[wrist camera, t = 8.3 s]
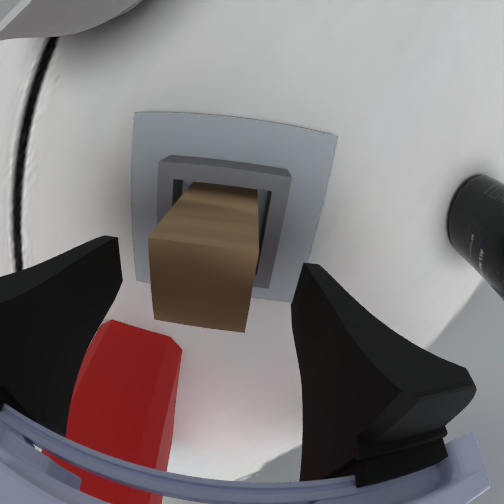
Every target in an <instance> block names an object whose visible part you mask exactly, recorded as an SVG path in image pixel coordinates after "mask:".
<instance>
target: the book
mask: <svg viewBox="0 0 504 504" xmlns="http://www.w3.org/2000/svg"><path fill="white" fill-rule="evenodd" d="M181 354H182V349H181V348H180V347H179V346H178V345H177V344H176V343H175V341H174V340H173V339H172V338H171V337H169V336H166V335H162V334H158V333H155V332H151V331H148V330H144V329H141V328H138V327H134V326H131V325H128V324H125V323H121V322H118V321H115V320H110V321H108V322H106V323H104V324H103V325H101V326H100V328H99V329H98V331H97V333H96V335H95V336H94V338H93V340H92V342H91V344H90V346H89V347H88V349H87V351H86V353H85V356H84V359H83V361H82V364H81V367H80V370H79V373H78V376H77V380H76V383H75V387H74V391H73V395H72V399H71V404H70V409H69V415H68V422H67V430H66V436H65V438H67V439H69V440H71V441H73V442H76V443H78V444H80V445H83V446H85V447H88V448H90V449H93V450H95V451H98V452H100V453H103V454H106V455H109V456H112V457H115V458H118V459H121V460H124V461H127V462H130V463H134V464H137V465H141V466H145V467H148V468H152V469H157V470H161V471H165V472H167V466H168V460H169V454H170V449H171V443H172V435H173V424H174V413H175V403H176V394H177V385H178V377H179V369H180V361H181ZM41 453H42V454H44V455H46V456H47V457H49V458H51V459H52V460H53V461H54V462H56V463H57V464H58V465H60V466H61V467H63V468H64V469H66V470H68V471H69V472H71V473H73V474H75V475H77V476H78V477H80V478H81V480H82V481H81V484H80V491H81V492H83V493H86V494H88V495H90V496H93V497H95V498H98V499H100V500H103V501H105V502H108V503H111V504H162V497H163V496H162V495H158V494H154V493H150V492H146V491H142V490H139V489H135V488H132V487H129V486H125V485H122V484H119V483H116V482H113V481H110V480H108V479H105V478H102V477H100V476H97V475H95V474H92V473H90V472H87V471H85V470H83V469H80V468H78V467H76V466H74V465H71V464H69V463H67V462H65V461H63V460H61V459H59V458H57V457H55V456H53V455H52V454H50V453H48V452H46V451H44V450H42V452H41Z"/></svg>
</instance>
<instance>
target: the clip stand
mask: <svg viewBox="0 0 504 504" xmlns="http://www.w3.org/2000/svg"><path fill="white" fill-rule="evenodd" d="M337 139H338V136H336V135H332V134H328V133H324V132H319V131H315V130H310V129H306V128H301V127H296V126H291V125H285V124H280V123H274V122H268V121H261V120H254V119H247V118H239V117H230V116H221V115H210V114H196V113H176V112H135V114H134V126H133V141H132V167H131V204H132V231H133V247H134V260H135V270H136V280H137V281H141V282H147V283H151V281H150V268H149V251H148V237H149V235H150V234H151V233H152V232H153V230H154V229H155V228H156V226H157V225H158V224H159V223H160V221H161V220H162V219H163V218H164V216H165V215H166V214H167V213H168V211H169V210H170V209H171V208H172V206H173V205H174V204H175V203H176V202H177V200H178V199H179V198H180V197H181V196H182V194H183V193H184V192H185V191H186V190H187V188H188V187H189V186H190V185H191V184H192V183H193V182H203V183H212V184H221V185H229V186H237V187H245V188H252V189H257V192H258V231H259V255H258V261H257V266H256V272H255V277H254V283H253V289H252V294H251V298H258V299H266V300H275V301H285V302H292V300H293V297H294V293H295V290H296V287H297V283H298V280H299V276H300V273H301V269H302V265H303V263H307V262H308V258H309V255H310V251H311V247H312V244H313V240H314V236H315V232H316V229H317V225H318V221H319V217H320V213H321V209H322V205H323V201H324V197H325V193H326V189H327V185H328V180H329V176H330V172H331V167H332V163H333V158H334V153H335V149H336V144H337Z"/></svg>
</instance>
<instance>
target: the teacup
mask: <svg viewBox="0 0 504 504" xmlns="http://www.w3.org/2000/svg"><path fill="white" fill-rule="evenodd" d="M142 1H143V0H0V40H5V39H13V38H30V37H57V36H65V35H71V34H76V33H80V32H83V31H85V30H88V29H91V28H94V27H96V26H98V25H100V24H102V23H104V22H106V21H108V20H110V19H113V18H116V17H118V16H120V15H122V14H124V13H126V12H128V11H130V10H131V9H133V8H134V7H135V6H137V5H138V4H139V3H140V2H142Z"/></svg>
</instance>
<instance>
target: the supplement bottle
mask: <svg viewBox="0 0 504 504" xmlns="http://www.w3.org/2000/svg"><path fill="white" fill-rule="evenodd" d="M449 235H450V239H451V242H452V245H453V246H454V248H455V249H456V251H457V252H458V253H459V254H460V255H461V256H462V257H463V258H464V259H465V260H466V261H467V262H468V263H469V264H470V265H471V266H472V267H473V268H474V269H475V270H476V271H477V272H478V273H479V274H480V275H481V276H482V277H483V278H484V279H485V280H486V281H487V282H488V283H489V284H490V285H491V287H492V288H493V289H494V290H495V291H496V292H497V293H498V294H499V296H500V297H501V298H502V299H503V300H504V184H503V183H501V182H499V181H497V180H495V179H493V178H491V177H488V176H477V177H475V178H473V179H471V180H470V181H468V182H467V183H466V184H465V185H464V186H463V187H462V188H461V190H460V191H459V193H458V194H457V196H456V198H455V200H454V203H453V205H452V209H451V212H450V217H449Z"/></svg>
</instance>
